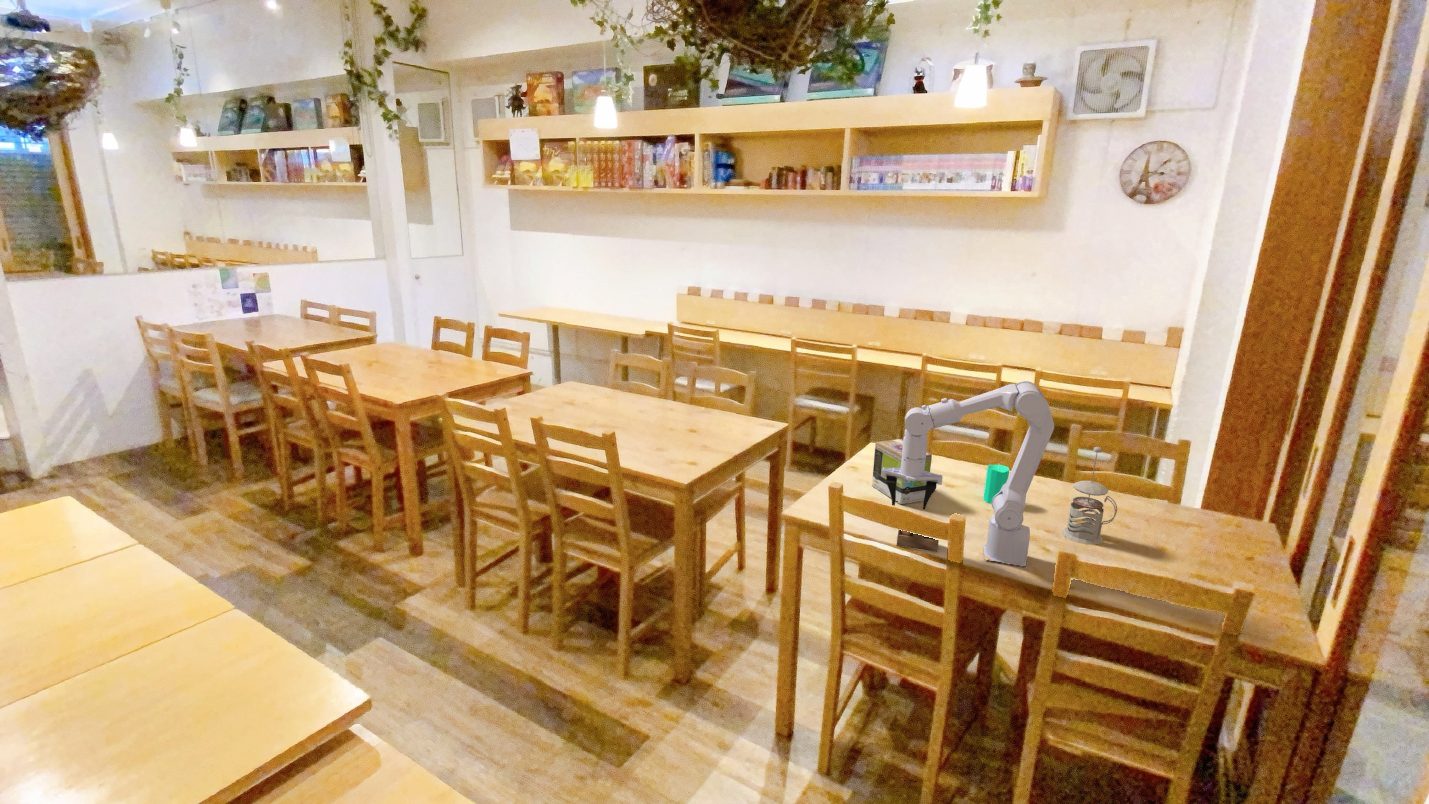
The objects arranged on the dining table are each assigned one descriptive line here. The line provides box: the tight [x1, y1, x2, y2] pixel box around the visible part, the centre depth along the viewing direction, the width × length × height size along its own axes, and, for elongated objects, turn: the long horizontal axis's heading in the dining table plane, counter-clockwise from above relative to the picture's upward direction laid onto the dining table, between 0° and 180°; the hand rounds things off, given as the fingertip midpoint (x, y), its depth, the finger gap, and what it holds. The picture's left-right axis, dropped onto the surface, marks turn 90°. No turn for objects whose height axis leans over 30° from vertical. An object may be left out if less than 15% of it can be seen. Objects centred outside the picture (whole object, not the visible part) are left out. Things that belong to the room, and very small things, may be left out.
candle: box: [982, 464, 1010, 505], centre depth 202 cm, size 6×6×12 cm
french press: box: [1061, 446, 1118, 545], centre depth 179 cm, size 10×12×25 cm
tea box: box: [871, 438, 933, 505], centre depth 206 cm, size 15×10×15 cm, turn 22°
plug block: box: [896, 529, 940, 553], centre depth 177 cm, size 10×4×3 cm, turn 71°
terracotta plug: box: [901, 530, 911, 536], centre depth 177 cm, size 4×4×4 cm
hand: (908, 506), depth 175 cm, fingers open, 7 cm apart
